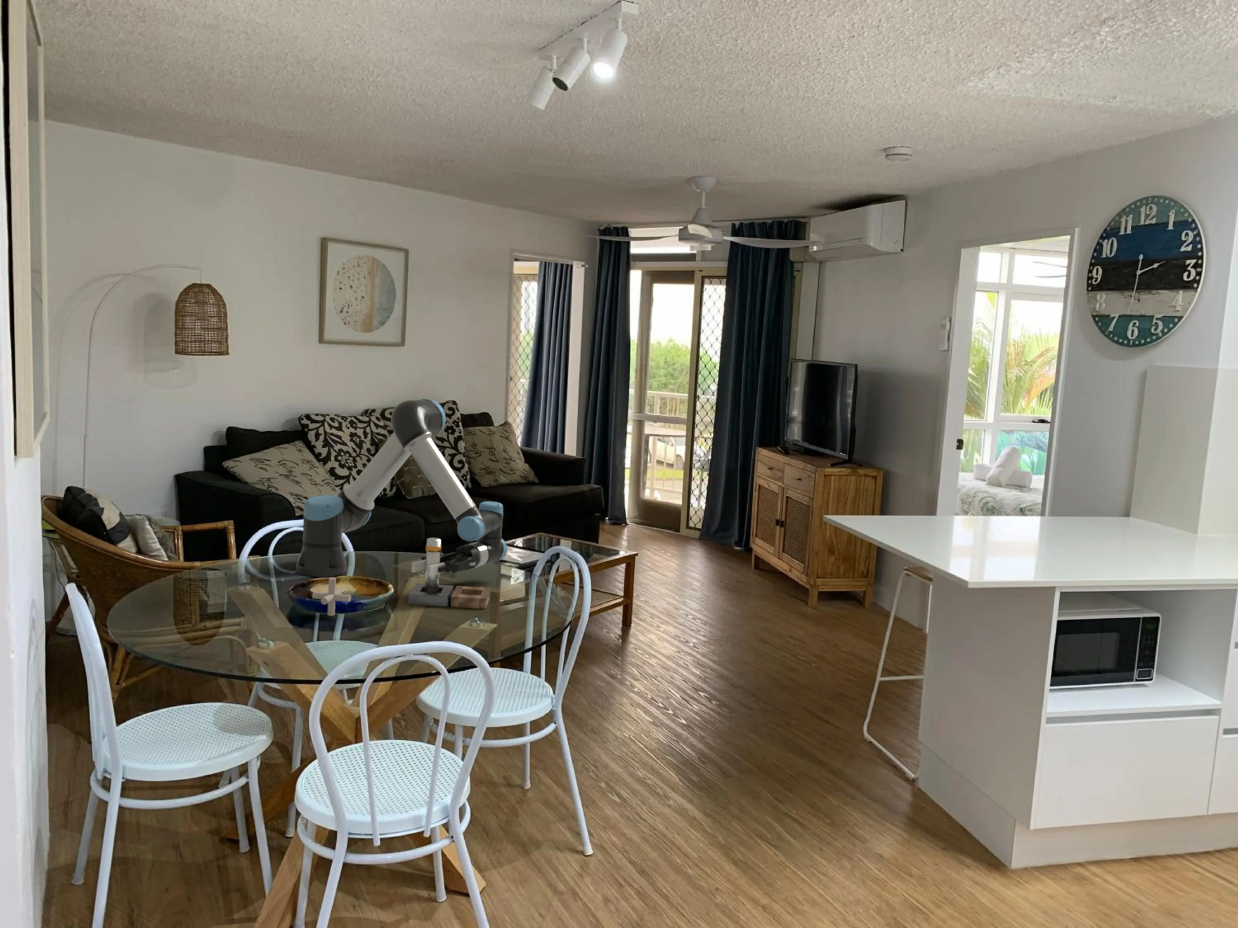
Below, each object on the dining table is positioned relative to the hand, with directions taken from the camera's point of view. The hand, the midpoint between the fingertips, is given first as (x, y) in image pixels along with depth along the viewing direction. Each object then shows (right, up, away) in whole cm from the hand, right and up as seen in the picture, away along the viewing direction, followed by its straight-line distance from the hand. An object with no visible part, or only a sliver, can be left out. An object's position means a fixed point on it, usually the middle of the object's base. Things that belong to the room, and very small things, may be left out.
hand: (421, 569), depth 261 cm
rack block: (+13, -10, +6) cm, 18 cm away
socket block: (+2, -10, +6) cm, 11 cm away
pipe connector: (-21, -11, -15) cm, 28 cm away
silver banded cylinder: (+2, -10, +6) cm, 11 cm away
